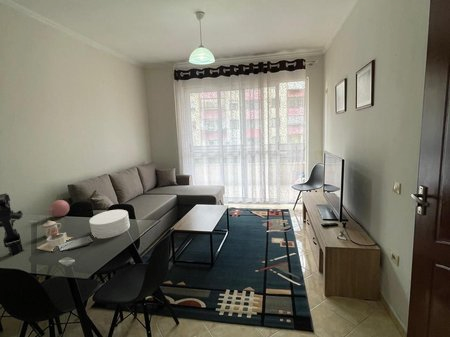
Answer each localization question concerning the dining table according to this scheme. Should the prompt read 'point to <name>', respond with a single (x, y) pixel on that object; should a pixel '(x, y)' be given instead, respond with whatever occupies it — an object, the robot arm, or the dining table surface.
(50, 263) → the dining table surface
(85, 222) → the dining table surface
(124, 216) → the plate stack
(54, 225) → the teacup with lid
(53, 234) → the plunger
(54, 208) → the balloon
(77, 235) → the dining table surface
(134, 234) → the dining table surface
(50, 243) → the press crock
